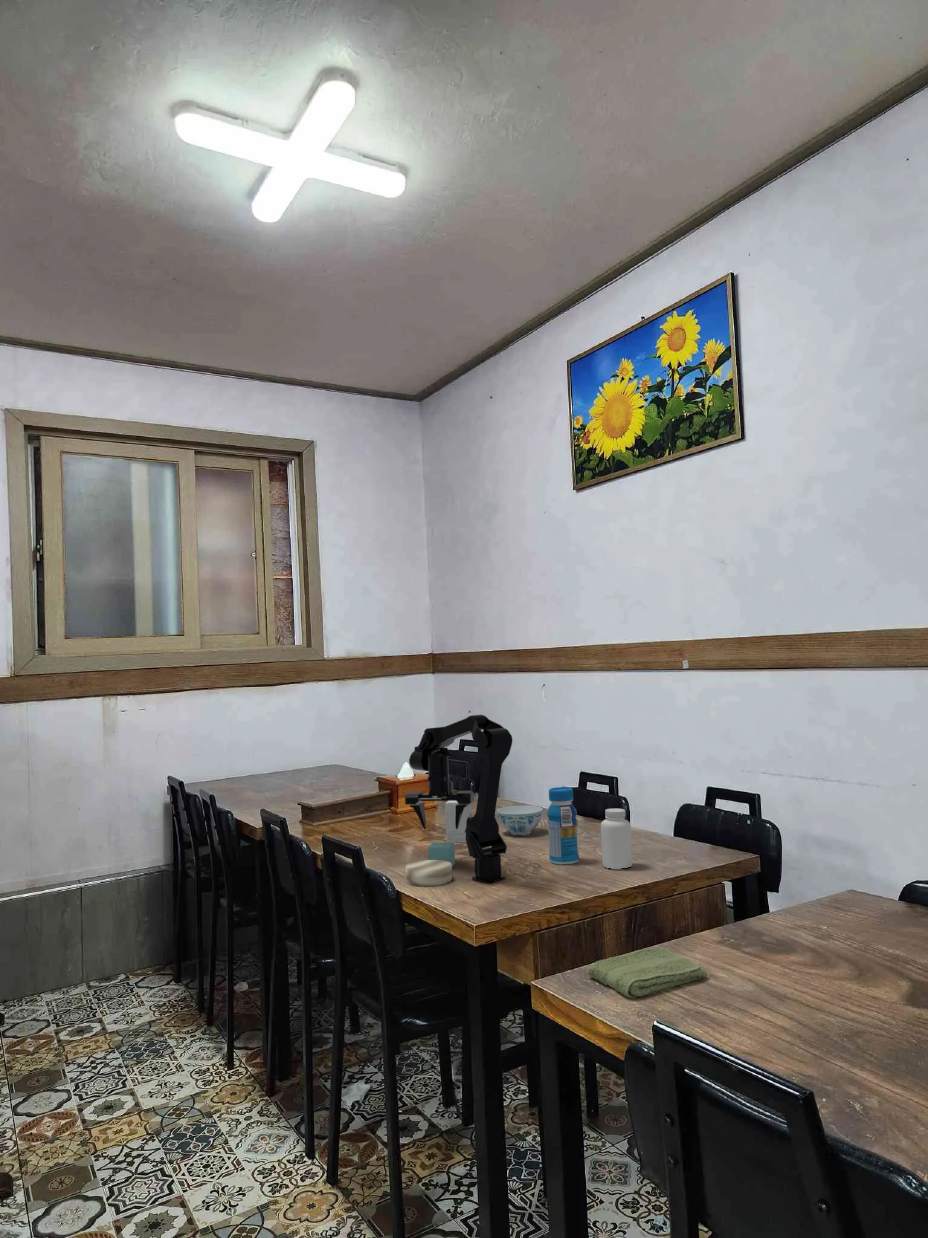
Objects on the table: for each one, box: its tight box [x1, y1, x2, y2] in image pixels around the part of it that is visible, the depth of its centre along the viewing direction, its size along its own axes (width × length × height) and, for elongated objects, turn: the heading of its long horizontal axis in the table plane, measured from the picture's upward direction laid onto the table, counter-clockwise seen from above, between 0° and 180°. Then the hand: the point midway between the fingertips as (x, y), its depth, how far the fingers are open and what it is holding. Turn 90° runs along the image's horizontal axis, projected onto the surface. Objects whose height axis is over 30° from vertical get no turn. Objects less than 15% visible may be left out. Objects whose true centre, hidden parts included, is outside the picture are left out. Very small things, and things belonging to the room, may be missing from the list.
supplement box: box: [444, 801, 473, 844], centre depth 258 cm, size 7×7×13 cm
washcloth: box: [587, 947, 708, 999], centre depth 141 cm, size 13×18×3 cm
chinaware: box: [496, 805, 544, 836], centre depth 264 cm, size 15×15×8 cm
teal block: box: [427, 841, 456, 868], centre depth 225 cm, size 6×6×6 cm
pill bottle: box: [600, 808, 633, 870], centre depth 217 cm, size 8×8×15 cm
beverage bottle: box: [546, 786, 580, 865], centre depth 225 cm, size 8×8×20 cm
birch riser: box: [405, 859, 453, 887], centre depth 211 cm, size 12×12×4 cm
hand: (440, 829), depth 226 cm, fingers open, 9 cm apart
